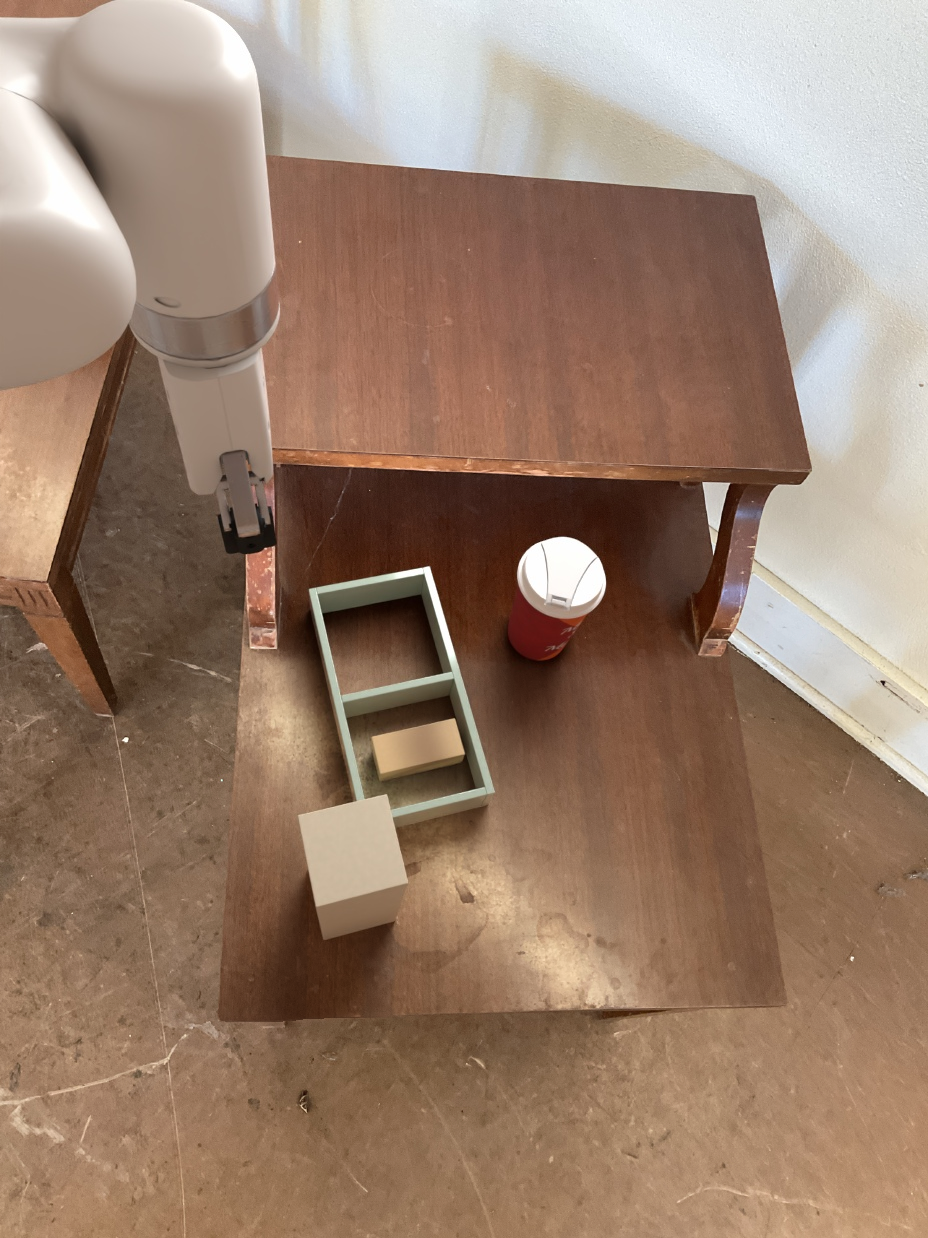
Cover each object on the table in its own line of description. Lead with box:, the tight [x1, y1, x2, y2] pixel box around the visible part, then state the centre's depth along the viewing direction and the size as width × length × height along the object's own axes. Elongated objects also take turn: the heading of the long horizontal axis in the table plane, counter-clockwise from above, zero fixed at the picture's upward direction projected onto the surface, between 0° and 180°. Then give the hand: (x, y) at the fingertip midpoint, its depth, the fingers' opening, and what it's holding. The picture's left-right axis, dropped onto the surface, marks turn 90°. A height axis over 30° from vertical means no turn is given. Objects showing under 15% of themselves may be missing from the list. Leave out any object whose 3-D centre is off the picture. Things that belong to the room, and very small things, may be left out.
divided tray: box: [308, 565, 496, 829], centre depth 82 cm, size 11×22×6 cm, turn 15°
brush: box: [370, 717, 466, 783], centre depth 80 cm, size 8×3×4 cm, turn 105°
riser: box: [297, 794, 409, 941], centre depth 68 cm, size 6×6×20 cm
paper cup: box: [507, 536, 607, 661], centre depth 83 cm, size 8×8×14 cm
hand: (238, 483), depth 60 cm, fingers open, 9 cm apart
